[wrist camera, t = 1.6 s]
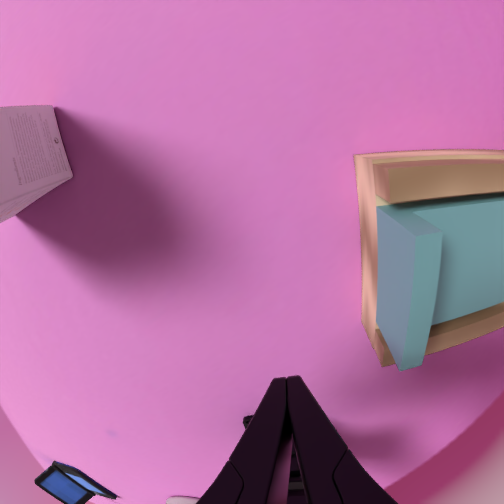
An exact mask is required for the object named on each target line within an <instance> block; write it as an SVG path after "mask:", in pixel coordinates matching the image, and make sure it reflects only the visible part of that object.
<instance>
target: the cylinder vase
mask: <svg viewBox="0 0 504 504" xmlns="http://www.w3.org/2000/svg"><path fill="white" fill-rule="evenodd" d="M199 499H200V498H193V497H185V496H173V497H170V498H168V499H167V500H166V504H195V503H196V502H197V501H198V500H199Z"/></svg>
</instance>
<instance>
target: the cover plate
mask: <svg viewBox="0 0 504 504" xmlns="http://www.w3.org/2000/svg"><path fill="white" fill-rule="evenodd" d="M376 213H377V241H378V280H377V308H376V323H377V325H378V327H379V329H380V331H381V333H382V335H383V337H384V339H385V341H386V343H387V345H388V348H389V350H390V352H391V354H392V356H393V358H394V360H395V363H396V365H397V367H398V369H399V371H403V370H407V369H410V368H414V367H417V366H421V365H422V362H423V358H424V354H425V350H426V346H427V342H428V337H429V333H430V328H431V325H435V324H438V323H442V322H445V321H448V320H452V319H455V318H458V317H461V316H464V315H467V314H471V313H473V312H476V311H479V310H482V309H485V308H488V307H491V306H493V305H496V304H499V303H501V302H504V192H502V193H491V194H480V195H470V196H460V197H451V198H442V199H433V200H424V201H415V202H407V203H399V204H391V205H383V206H376Z"/></svg>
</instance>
